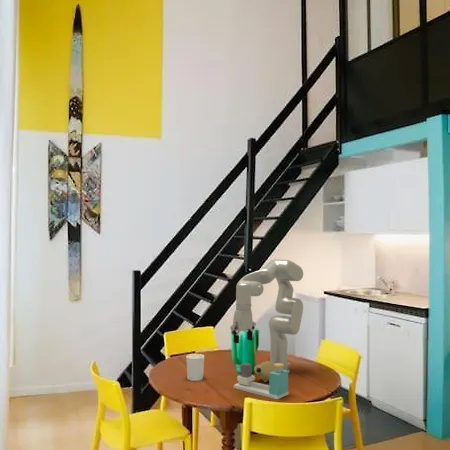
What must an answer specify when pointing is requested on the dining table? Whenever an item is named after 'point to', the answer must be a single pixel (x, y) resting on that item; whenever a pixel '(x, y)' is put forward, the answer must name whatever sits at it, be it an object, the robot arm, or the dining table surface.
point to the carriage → (245, 374)
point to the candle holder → (195, 366)
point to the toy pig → (264, 370)
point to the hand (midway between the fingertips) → (243, 341)
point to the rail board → (258, 391)
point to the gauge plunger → (278, 367)
